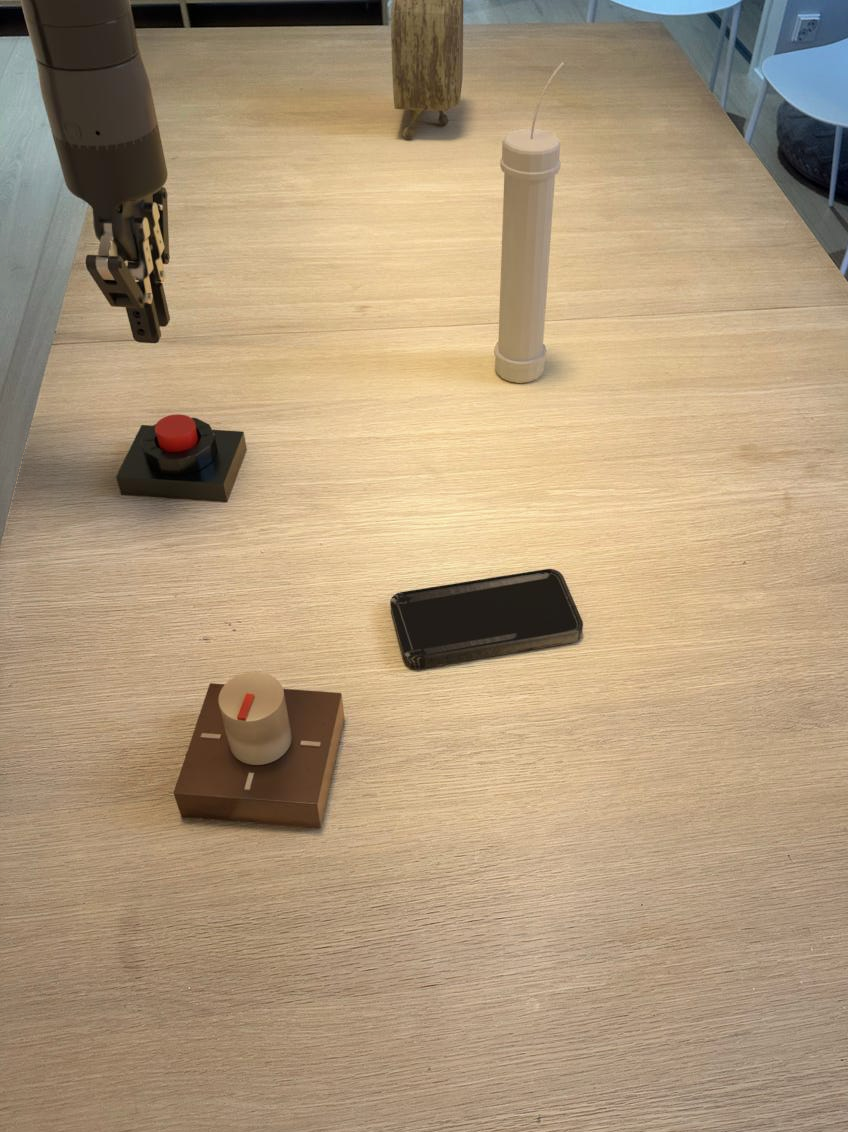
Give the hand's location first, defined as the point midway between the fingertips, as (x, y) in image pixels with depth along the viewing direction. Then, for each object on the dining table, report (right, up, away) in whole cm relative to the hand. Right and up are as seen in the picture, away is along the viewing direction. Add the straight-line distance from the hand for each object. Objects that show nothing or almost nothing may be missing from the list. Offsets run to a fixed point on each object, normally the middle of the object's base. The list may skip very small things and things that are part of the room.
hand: (152, 331), depth 90 cm
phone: (+28, -25, -2) cm, 38 cm away
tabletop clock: (+20, +50, +67) cm, 87 cm away
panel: (+12, -35, -12) cm, 39 cm away
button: (0, -8, +8) cm, 11 cm away
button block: (0, -10, +11) cm, 15 cm away
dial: (+12, -33, -14) cm, 38 cm away
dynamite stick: (+32, +3, +24) cm, 40 cm away
